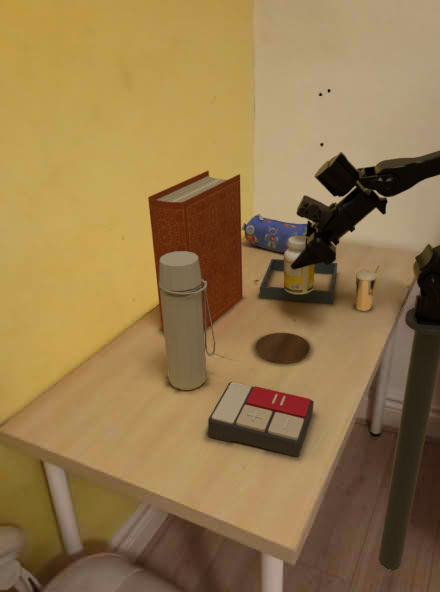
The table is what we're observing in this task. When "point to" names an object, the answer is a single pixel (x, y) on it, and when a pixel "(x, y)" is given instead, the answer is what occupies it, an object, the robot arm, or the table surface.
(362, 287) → the milkshake
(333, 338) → the table surface
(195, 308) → the water bottle
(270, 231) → the pencil case
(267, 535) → the table surface
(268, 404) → the button control box
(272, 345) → the coaster
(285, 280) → the pill bottle
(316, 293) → the dark grey square frame
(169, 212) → the book
